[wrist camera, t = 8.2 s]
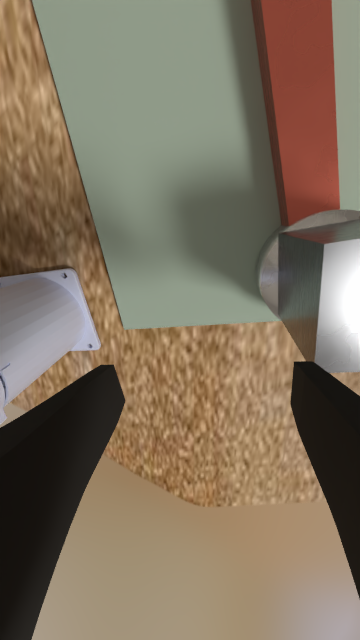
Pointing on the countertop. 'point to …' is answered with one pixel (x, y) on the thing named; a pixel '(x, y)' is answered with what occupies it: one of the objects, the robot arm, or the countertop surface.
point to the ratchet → (298, 122)
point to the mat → (183, 147)
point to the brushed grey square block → (322, 293)
